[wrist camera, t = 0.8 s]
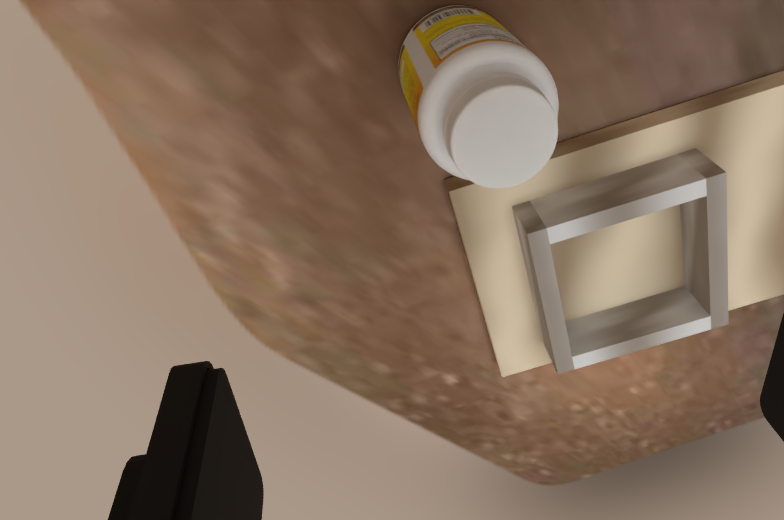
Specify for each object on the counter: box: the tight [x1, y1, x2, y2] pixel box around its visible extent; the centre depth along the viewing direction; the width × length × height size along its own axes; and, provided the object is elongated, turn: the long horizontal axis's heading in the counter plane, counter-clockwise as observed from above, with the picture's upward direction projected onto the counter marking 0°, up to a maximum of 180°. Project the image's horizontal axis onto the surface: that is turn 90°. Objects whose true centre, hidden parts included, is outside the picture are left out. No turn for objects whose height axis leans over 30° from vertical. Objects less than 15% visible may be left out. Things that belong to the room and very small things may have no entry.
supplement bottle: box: [398, 5, 559, 189], centre depth 27 cm, size 6×6×10 cm
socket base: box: [444, 70, 784, 377], centre depth 36 cm, size 26×14×4 cm, turn 107°
